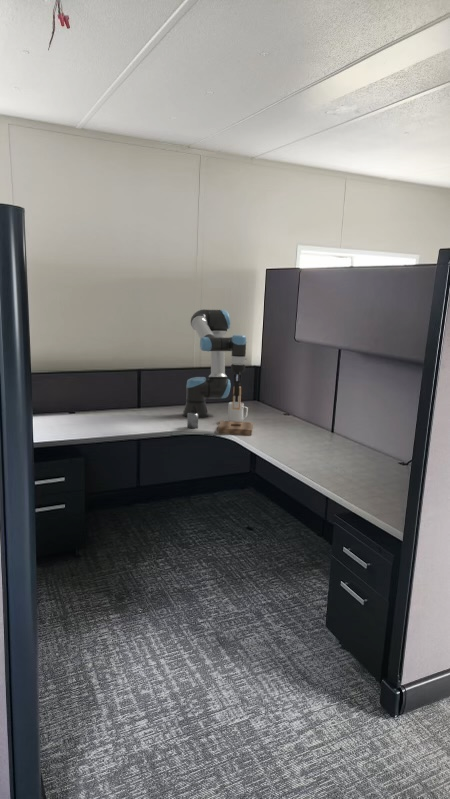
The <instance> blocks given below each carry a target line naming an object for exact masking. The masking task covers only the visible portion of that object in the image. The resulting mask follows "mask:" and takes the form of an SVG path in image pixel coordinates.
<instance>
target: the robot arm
mask: <svg viewBox="0 0 450 799" xmlns="http://www.w3.org/2000/svg"><path fill="white" fill-rule="evenodd" d="M190 326H191V327H192V329H193V330H194V331H196V334H197V335H198V337H199V338H200V341H199V348H200V350H201V351H203V352H210V374H209V375H208V379H207V378H206V377H205V376H195V377H191V378H188V379H187V381H186V386H185V387H186V388H185V389H186V398H185V399H186V400H185V401H186V403H185V405H184V409H183V411H182V416H184V417H186V418H187V413H198V419H199V418H206V417H208V416H209V415H208V414H209V412H208V409H207V405H206V400H207V399H226V398H228V397H229V395H230V391H231V386H232V385H231V384H232V383H231V380H230V379H229V378H228V376H227V374H226V365H225V364H226V361H225V360H226V358H225V357H226V353H225V352H231V359H230V362H231V366H230V371H231V372H235V374H234V375H233V380H234V381H233V383H234V386H235V388H234V395H233V394H232V397H233V396H234V408H239V387H241V382H242V374H241V373H243V372H246V361H247V357H246V356H247V355H246V354H247V353H246V350H247V336H246V335H244V334H243V335H242V334H234V335H232V336H230V337H226V336H225V335H226V334H227V333H228V330H230V328H231V317H230V315H229V312H228V311H227V310H224V309H223V310H222V309H205V308H204V309H199V310H197V311H196V312H194V313H193V314H192V316H191V317H190Z"/></svg>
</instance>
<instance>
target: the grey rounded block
mask: <svg viewBox="0 0 450 799" xmlns="http://www.w3.org/2000/svg"><path fill="white" fill-rule="evenodd" d="M186 418H187V420H186V422H187V423H186V429H189V430H196V429H198V428H199V418H198V413H187V417H186Z"/></svg>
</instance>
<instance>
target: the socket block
mask: <svg viewBox="0 0 450 799" xmlns="http://www.w3.org/2000/svg"><path fill="white" fill-rule="evenodd" d="M253 424H254V422H251V421H249V422H248V421H242V422H234V421H229V420H220V422H219V425H218V427H217V434H219V435H220V434H221V435H235V436H236V435H238V436H239V435H242V436H252V435H253Z"/></svg>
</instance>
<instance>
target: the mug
mask: <svg viewBox="0 0 450 799" xmlns="http://www.w3.org/2000/svg"><path fill="white" fill-rule="evenodd" d="M244 409H245V416H244ZM227 410H228V411H227V414H228V416H227V421H234V422H244V419H246V418H247V417H248V412H249V407H247V406H245V404H244V402H241V405H240V410H237V409H233V401H230V402H228V408H227Z"/></svg>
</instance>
